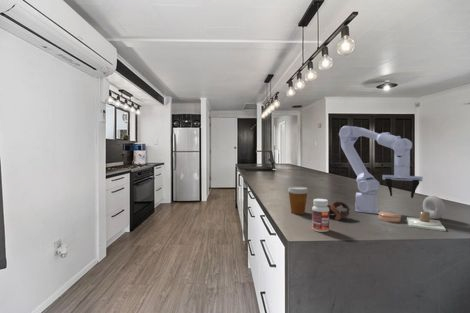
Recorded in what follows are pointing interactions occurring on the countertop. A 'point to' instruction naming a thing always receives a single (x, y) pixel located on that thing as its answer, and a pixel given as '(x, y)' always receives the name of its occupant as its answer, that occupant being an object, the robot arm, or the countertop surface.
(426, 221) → the lid
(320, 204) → the pill bottle
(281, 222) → the countertop surface
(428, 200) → the white tape roll
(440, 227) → the mat
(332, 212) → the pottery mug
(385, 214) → the orange round disc
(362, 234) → the countertop surface
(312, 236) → the countertop surface
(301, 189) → the disposable coffee cup
